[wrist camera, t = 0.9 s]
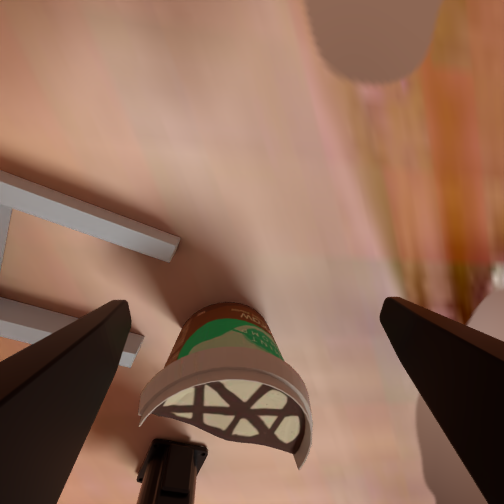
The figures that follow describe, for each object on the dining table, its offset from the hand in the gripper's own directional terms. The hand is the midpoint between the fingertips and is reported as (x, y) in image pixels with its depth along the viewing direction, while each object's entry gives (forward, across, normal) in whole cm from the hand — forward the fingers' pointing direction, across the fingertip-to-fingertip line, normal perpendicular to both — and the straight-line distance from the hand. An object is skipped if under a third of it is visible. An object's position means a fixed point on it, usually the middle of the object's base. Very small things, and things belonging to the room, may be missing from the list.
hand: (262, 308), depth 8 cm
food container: (+13, 0, +11) cm, 17 cm away
